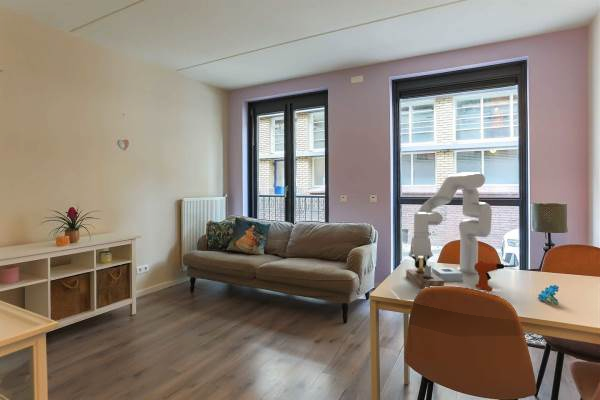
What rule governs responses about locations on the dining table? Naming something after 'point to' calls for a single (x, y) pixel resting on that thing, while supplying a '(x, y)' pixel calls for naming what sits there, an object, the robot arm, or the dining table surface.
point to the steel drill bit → (427, 272)
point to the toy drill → (484, 276)
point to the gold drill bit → (420, 265)
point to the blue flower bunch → (549, 293)
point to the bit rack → (420, 281)
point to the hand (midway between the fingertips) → (420, 267)
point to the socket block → (448, 274)
